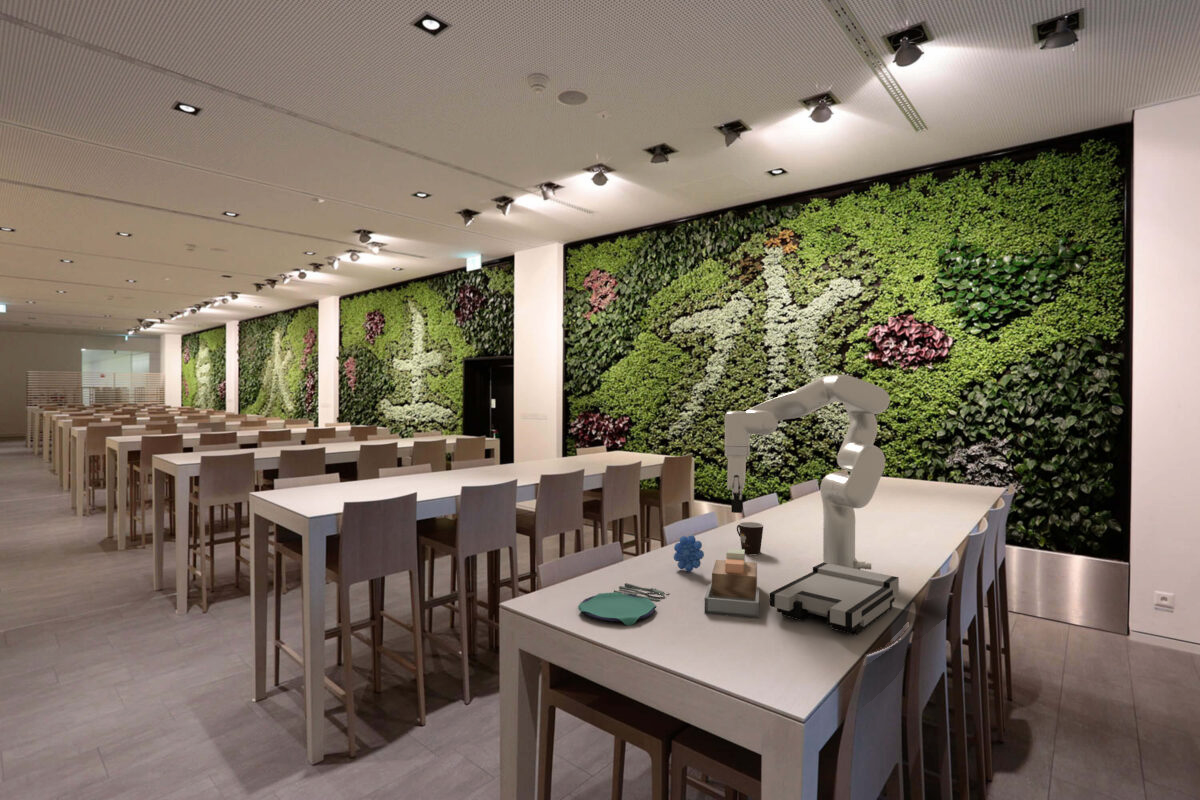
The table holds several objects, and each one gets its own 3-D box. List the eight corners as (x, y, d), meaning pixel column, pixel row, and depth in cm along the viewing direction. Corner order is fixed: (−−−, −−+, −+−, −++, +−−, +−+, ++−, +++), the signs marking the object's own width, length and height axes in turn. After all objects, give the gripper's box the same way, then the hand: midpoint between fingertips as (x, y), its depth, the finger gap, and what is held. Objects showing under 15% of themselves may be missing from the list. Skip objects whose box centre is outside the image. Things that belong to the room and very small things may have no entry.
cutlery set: (564, 616, 156) (565, 608, 156) (620, 586, 182) (620, 578, 182) (633, 633, 146) (633, 623, 146) (682, 598, 172) (682, 590, 172)
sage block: (744, 563, 180) (744, 549, 180) (744, 567, 175) (744, 553, 175) (727, 561, 181) (727, 548, 181) (726, 566, 176) (726, 552, 176)
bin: (759, 602, 166) (759, 587, 166) (758, 618, 154) (758, 602, 154) (709, 597, 170) (709, 583, 170) (704, 613, 158) (704, 598, 158)
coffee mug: (766, 555, 214) (766, 527, 213) (741, 555, 214) (741, 527, 214) (758, 547, 225) (758, 520, 225) (734, 547, 225) (734, 520, 225)
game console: (769, 620, 154) (769, 588, 154) (823, 590, 177) (823, 562, 177) (852, 643, 140) (852, 608, 140) (898, 607, 163) (898, 577, 163)
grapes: (711, 572, 194) (711, 535, 193) (698, 577, 189) (698, 538, 189) (682, 565, 202) (682, 529, 202) (669, 569, 197) (669, 532, 197)
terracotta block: (744, 568, 174) (744, 559, 174) (743, 573, 169) (743, 564, 169) (726, 567, 176) (726, 558, 175) (725, 572, 171) (725, 563, 171)
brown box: (757, 586, 180) (757, 562, 180) (756, 601, 167) (756, 576, 166) (716, 582, 183) (716, 559, 183) (711, 598, 170) (711, 573, 170)
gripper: (726, 448, 195) (726, 505, 195) (722, 454, 179) (722, 516, 179) (750, 449, 193) (750, 506, 193) (749, 454, 177) (748, 517, 177)
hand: (737, 510), depth 186 cm, fingers open, 3 cm apart
